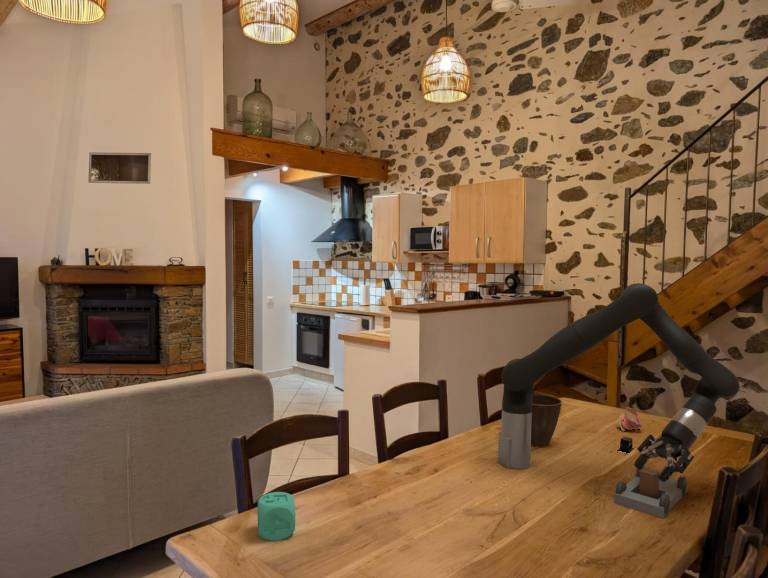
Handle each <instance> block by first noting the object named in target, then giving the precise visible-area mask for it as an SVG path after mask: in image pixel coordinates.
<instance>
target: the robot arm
mask: <svg viewBox="0 0 768 578" xmlns="http://www.w3.org/2000/svg"><path fill="white" fill-rule="evenodd" d="M636 320H641V321H642V322H644V324H646V325H647V327H648V328H650V329H651V330H652V331H653V333H654V334H655V335H656V336H657V337H658V338H659V339H660V340H661V342H662V343H663V345H665V347H666V348H667V349H668V350H669V351H670V353H671V354H672V355H673V357H675V358H676V359H677V360H678V362H679V363H680V364H681V365H682V366H683V367H684V368H686V370H687V371H688V372H690V373H692V374H695V375H698V376H700V377H701V378H700V379H699V380H698V381H697V383H696V385H695V386H694V389H693V391H692V393H691V396H690V397H689V399H687V401H686V402H685V404H684V405H683V406H682V408H681V409H680V410H678V411H677V412H676V413H675V414H674V416H673V417H672V418H671V419H670V420H669V422H668V423H667V425H666V426H665V427H664V428H663V429H662V431H661V435H660V437H658V438H656V437H655V436H654V435H653V434H648V436H646V438H645V439H644V440H643V441H642V443H641V444H639V446H638V447H636V448H637V451H638V452H639V453H640V455H639V456H638V457H637V459H636V460H635V461H634V464H633V465H634V467H635V469H636V470H637V469H639V470H641V469H642V467H643V466H644V467H645V465H646V464H647V462H648V461H649V460H650V459H653V458H654V459H655V458H661V459H665V460H666V461H667V465H665V466H664V468H663V469H662V470H661V471H660V473H659V475H658V478H659V479H660V480H661V481H662V482H665V481H667V480H668V479H669V478H670V479H671V477H672V476H673V474H674V473H675V474H676V473H679V474H683V473H685V471H686V469H688V467H689V466H690V464H691V463H692V461H693V460H694V458H695V455H693V453H692V452H691V451H690V450H689V449H690V448H691V447H692V446H693V444H694V443H695V441H697V439H698V438H699V437H700V436H701V434H702V432H703V431H704V430H705V428H706V426H707V425H708V424H709V422H710V421H711V420H712V418H713V417H714V416H715V414H716V412H717V406H716V403H717V401H718V400H719V399H720V398H731V397H734V396H736V395H737V394H738V393H739V391H740V388H741V387H740V382H739V379H738V377H737V376H736V375H735V374H734V373H733V372H732V371H731V370H730V369H729V368H728V367H726V366H725V365H724V364H723V363H721V362H720V361H718V360H717V359H715V358H713V357H712V356H710V355H709V353H708V352H707V351H706V349H704V348H703V347H702V346H701V344H700V343H698V341H697V340H696V339H695V338H693V336H691V334H689V333H688V332H687V331H686V330H685V329H684V328H683V327H682V326H680V325H679V324H678V323H677V322H676V321H675V320H674V319H673V318H672V317H671V316H670V314H668V313H667V311H666V310H665V309H664V308H663V306H662V305H661V303H660V301H659V296H658V293H657V291H656V290H655V289H654V288H653V287H652V286H650V285H647V284H645V283H640V282H639V283H632V284H629V285H628V286H626V287H625V288H624V289H623V291H622V293H621V294H620V295H619V297H617V298H616V299H614V300H612V301H611V302H610V303H609V304H607V305H606V306H604V307H602V308H601V309H599V310H596V311H594V312H592V313H589V314H586V315H585V316H582V317H581V318H578V319H577V320H574V321H573V322H571V323H569V324H568V325H566V326H564V328H562V329H561V330H559V331H558V332H556V333H555V334H553V335H552V336H551V337H550V338H549V339H547V340H546V341H545V342H544V343H543V344H541V345H540V347H538V348H537V349H535V350H534V351H533V352H531V353H529V354H528V355H525V356H524V357H522V358H514V359H511V360H510V361H508V362H507V364H505V366H504V367H503V369H502V372H501V382H502V384H503V395H502V399H501V400H502V401H501V424H500V425H501V428H500V429H501V431H500V432H498V439H497V440H498V448H497V462H498V463H500V464H501V465H502V466H504V467H505V468H506V469H515V470H516V469H517V470H522V469H523V470H525V469H528V468H529V467H531V454H532V453H531V451H532V445H531V424H532V403H533V394H534V383H535V382H537V381H538V380H539V379H541V378H542V377H543V376H545V375H546V374H547V373H550V372H551V371H552V370H554V369H556V368H559V367H560V366H562V365H564V364H567V363H568V362H570V361H572V360H575V358H578V357H579V356H580V355H583V354H585V352H587V351H589V350H591V349H593V348H594V347H595V346H597V345H598V344H600V343H601V342H603V341H604V340H605V339H607V338H608V337H610V336H611V335H612V334H614V333H615V332H616V331H618V330H620V329H621V328H622V327H625V326H627V325H629V324H631V323H632V322H635V321H636Z"/></svg>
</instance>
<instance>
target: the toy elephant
mask: <svg viewBox="0 0 768 578" xmlns="http://www.w3.org/2000/svg"><path fill="white" fill-rule="evenodd" d="M642 425H643V423H642V421H641V419H640V417H639V416H638V413H637V411H636V410H634V409H633V408H631V407H628V406H626V407H625V409H624V410H623V413H621V414H620V415H619V417H618V418H617V420H616V426H617V427H618V429H620V428H621V431H623V432H624V431H625V432H626V429H627V430H628V431H629V430H630V431H633V430H632V429H642V427H643V426H642Z"/></svg>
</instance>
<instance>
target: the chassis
mask: <svg viewBox="0 0 768 578" xmlns="http://www.w3.org/2000/svg"><path fill="white" fill-rule="evenodd" d="M644 467H645V465H644V466H643V467H642V469H643V468H644ZM639 480H640V470H639V469H637V468H636V472H635V476H634V477H633V478H632V479H631V480H629V481H628V482H627V483H626V482H625V481H622V480H619V481H618V482H617V483H616V487H615V493H614V496H613V497H614V500H613V502H614V503H613V504H617V505H620V506H623V507H627V508H629V509H632V510H636V511H638V512H642V513H645V514H649V515H652V516H654V517H658V518H660V519H664V517H666V516H667V514H669V513H670V511H671V510H672V509H673V508H674V506H676V505H677V503H678V502H679V501H680V500H681V499H683V497H684V496H685V494H687V492H688V481H687V477H686V476H683V475H679V477H678V480H677V479H673V478H671V477H670V478H669V479H668V480H667V481H665V482H662V481H661V480H660V479H659V497H658V500H657V499H654V498H651V497H647V496H644V495H640V494H639Z"/></svg>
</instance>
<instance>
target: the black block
mask: <svg viewBox="0 0 768 578" xmlns="http://www.w3.org/2000/svg"><path fill="white" fill-rule="evenodd" d="M633 441H634V440H633V437H629V436H622V437H621V438H620V442H619V447H620V448H619V447H618V448H619V449H618V450H617V451H622V452H626V453H630V452H631V451H632V450H633V449H634V448H635V447H634V445H633V444H634V443H633ZM632 447H634V448H632Z"/></svg>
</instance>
